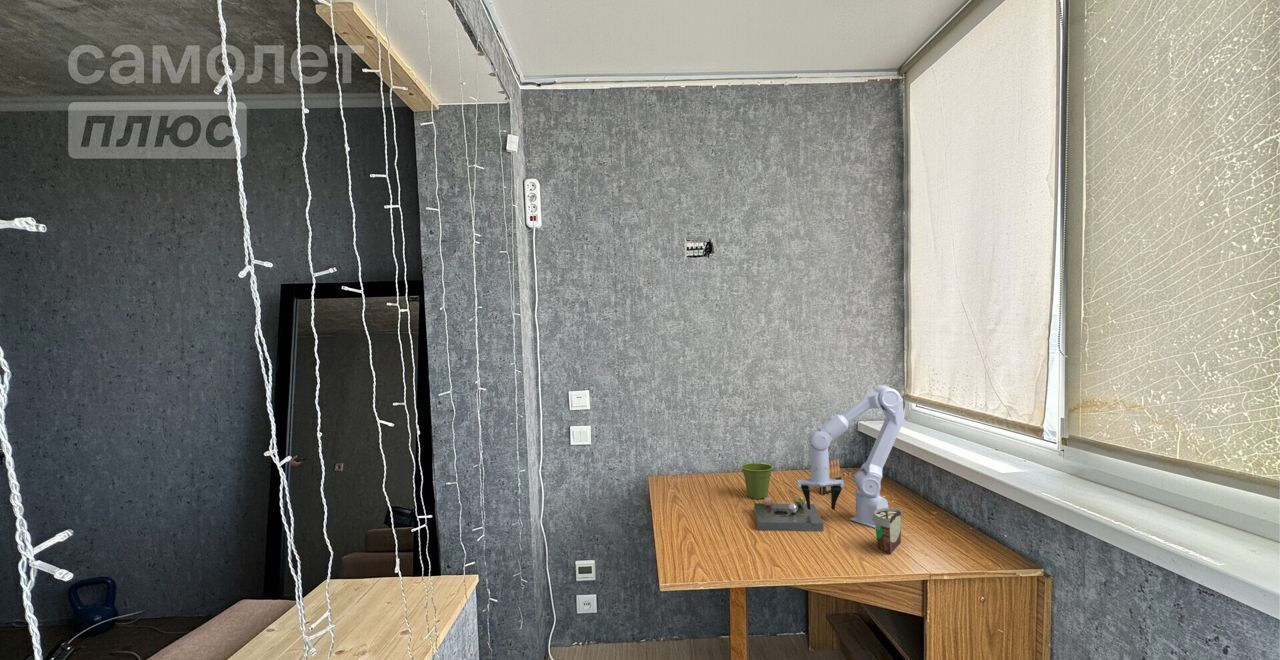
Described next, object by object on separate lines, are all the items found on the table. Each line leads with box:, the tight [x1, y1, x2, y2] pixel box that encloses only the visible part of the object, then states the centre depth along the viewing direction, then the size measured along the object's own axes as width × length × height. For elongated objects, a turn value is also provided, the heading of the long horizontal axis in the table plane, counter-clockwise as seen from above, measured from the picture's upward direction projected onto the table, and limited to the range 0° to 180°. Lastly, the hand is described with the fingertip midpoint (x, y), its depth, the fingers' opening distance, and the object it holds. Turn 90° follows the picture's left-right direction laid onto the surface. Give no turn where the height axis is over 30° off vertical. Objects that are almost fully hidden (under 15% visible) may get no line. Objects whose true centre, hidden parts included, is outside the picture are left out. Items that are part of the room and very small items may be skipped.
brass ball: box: [793, 494, 806, 506], centre depth 200 cm, size 4×4×4 cm
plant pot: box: [740, 462, 774, 500], centre depth 220 cm, size 12×12×11 cm
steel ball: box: [788, 502, 798, 513], centre depth 194 cm, size 3×3×3 cm
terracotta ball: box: [762, 496, 773, 506], centre depth 202 cm, size 3×3×3 cm
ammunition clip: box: [819, 458, 843, 496], centre depth 223 cm, size 11×2×12 cm, turn 124°
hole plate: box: [753, 502, 825, 532], centre depth 194 cm, size 20×19×2 cm
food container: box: [872, 507, 903, 556], centre depth 170 cm, size 12×6×10 cm, turn 141°
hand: (820, 508), depth 193 cm, fingers open, 7 cm apart
